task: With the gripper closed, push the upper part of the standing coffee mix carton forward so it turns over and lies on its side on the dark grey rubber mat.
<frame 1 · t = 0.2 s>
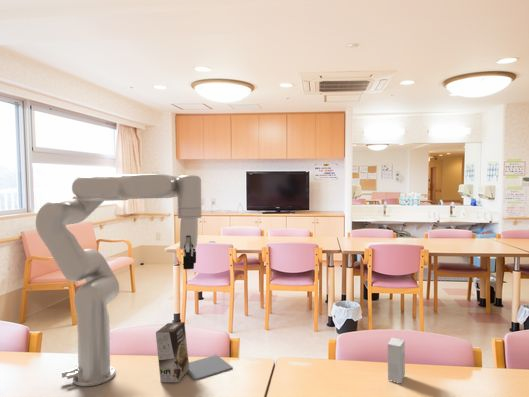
hand: (190, 266, 120), 36 cm above the table, tool pointing down, fingers open, 9 cm apart
coffee box: (175, 376, 121), on the table, touching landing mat
skincare box: (396, 379, 119), on the table
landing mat: (206, 367, 127), on the table
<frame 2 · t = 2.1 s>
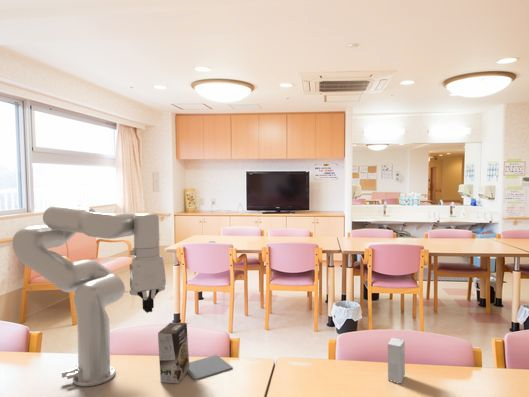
hand: (148, 311, 116), 23 cm above the table, tool pointing down, fingers closed
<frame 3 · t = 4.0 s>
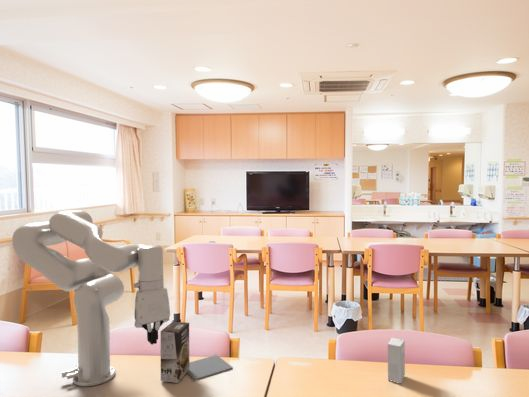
hand: (152, 342, 117), 13 cm above the table, tool pointing down, fingers closed
coffee box: (175, 375, 121), on the table, touching gripper, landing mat
everything else where it was.
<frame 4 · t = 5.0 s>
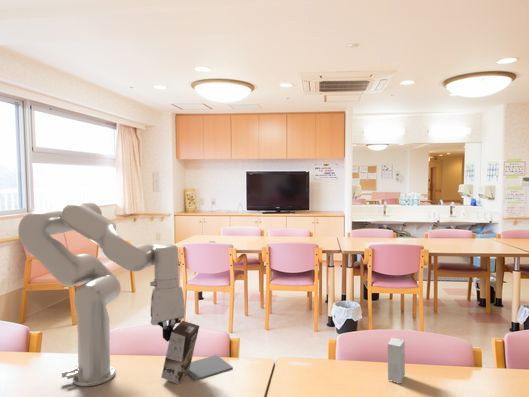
hand: (168, 339, 120), 13 cm above the table, tool pointing down, fingers closed
coffee box: (175, 374, 121), point 1 cm above the table, touching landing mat
everything else where it was.
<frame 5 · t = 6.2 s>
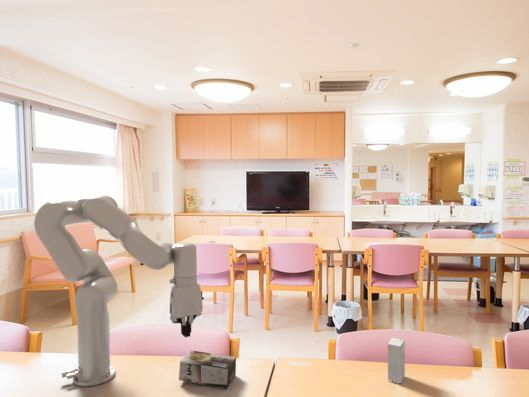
hand: (186, 335, 123), 13 cm above the table, tool pointing down, fingers closed
coffee box: (184, 364, 121), point 4 cm above the table, touching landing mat
everything else where it was.
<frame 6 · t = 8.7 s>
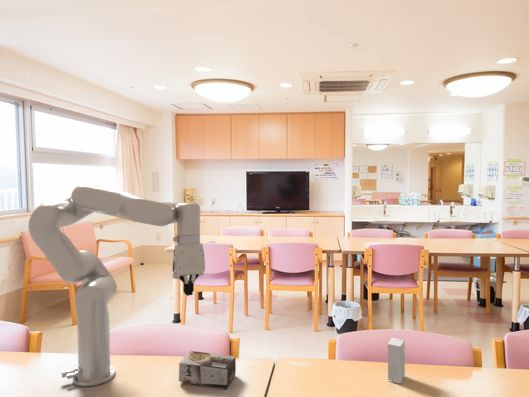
hand: (188, 294, 124), 26 cm above the table, tool pointing down, fingers closed
nothing on the table moved.
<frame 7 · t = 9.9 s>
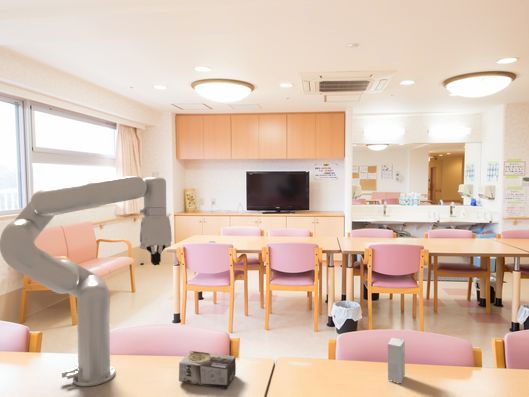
hand: (155, 264, 130), 35 cm above the table, tool pointing down, fingers closed
nothing on the table moved.
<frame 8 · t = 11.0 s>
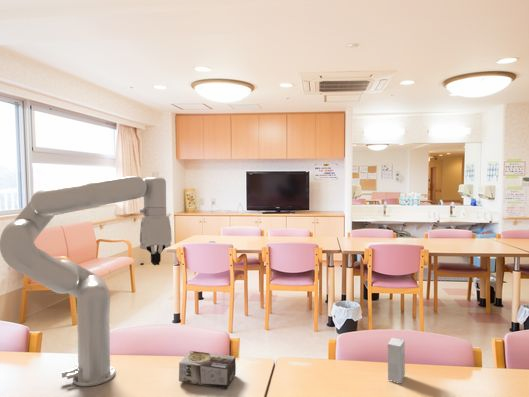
hand: (155, 264, 130), 35 cm above the table, tool pointing down, fingers closed
nothing on the table moved.
at the end: coffee box tilted 92°; coffee box touching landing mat, table; coffee box inside the target area (5.2 cm from its centre), point 3.9 cm above the table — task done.
